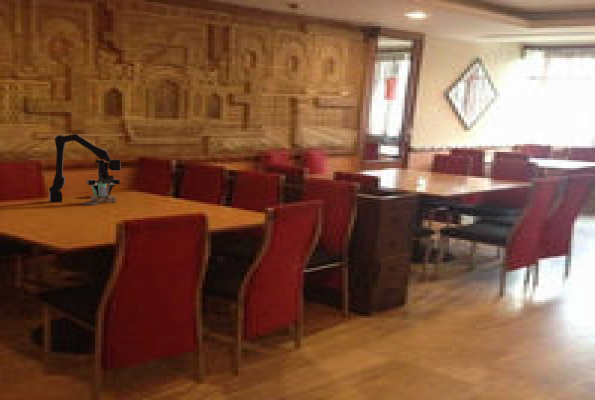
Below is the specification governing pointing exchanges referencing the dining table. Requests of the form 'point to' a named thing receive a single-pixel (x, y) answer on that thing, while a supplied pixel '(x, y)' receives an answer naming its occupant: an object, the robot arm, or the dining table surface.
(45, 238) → the dining table surface
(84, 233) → the dining table surface
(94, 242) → the dining table surface
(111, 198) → the frame
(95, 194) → the mug
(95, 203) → the coaster
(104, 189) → the grey rounded cylinder
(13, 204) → the dining table surface
